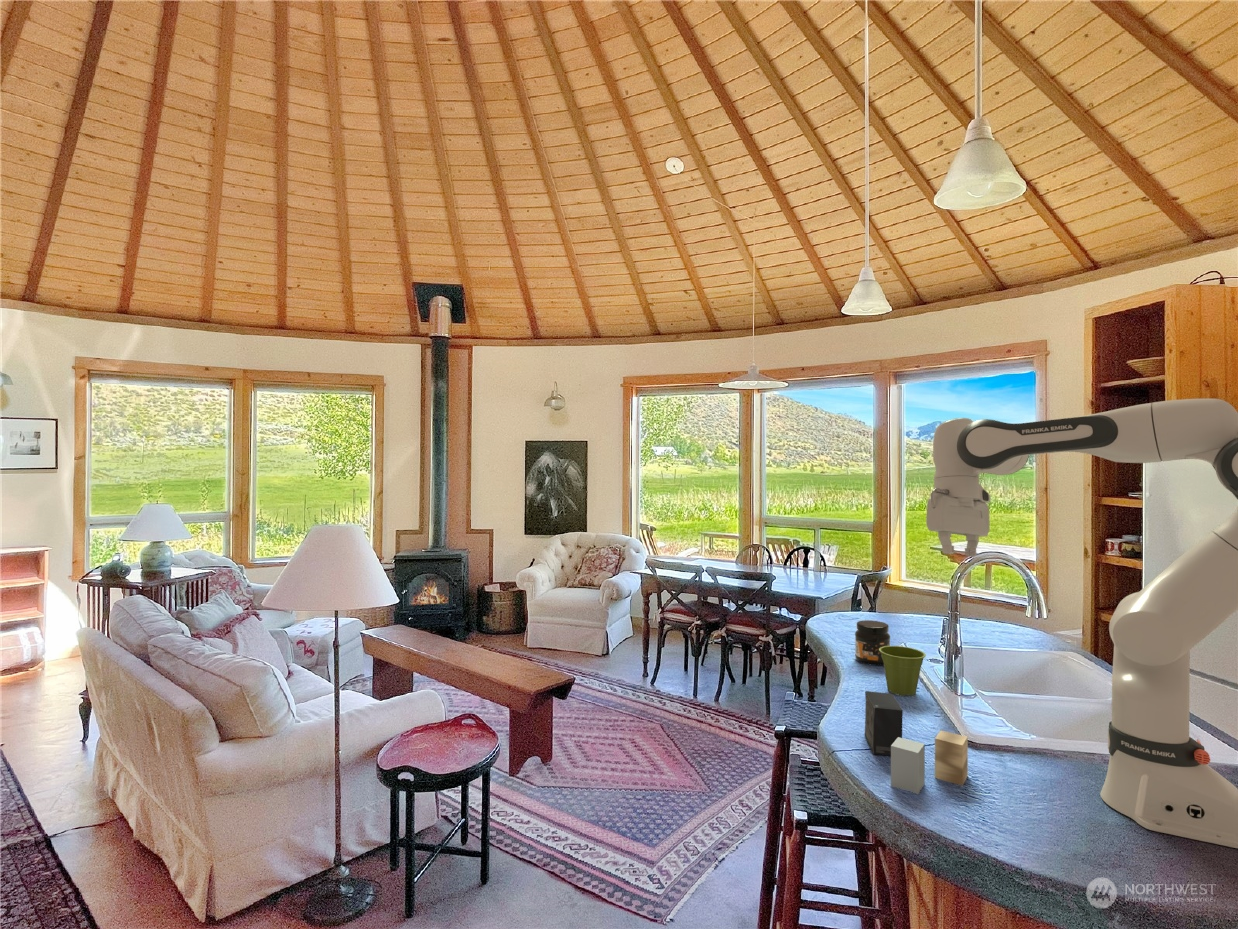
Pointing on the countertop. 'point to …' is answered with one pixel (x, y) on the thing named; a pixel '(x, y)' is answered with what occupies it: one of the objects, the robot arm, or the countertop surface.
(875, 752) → the small box
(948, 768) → the maple block
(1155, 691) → the robot arm
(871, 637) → the supplement container
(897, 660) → the plant pot
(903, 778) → the grey box
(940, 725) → the countertop surface
